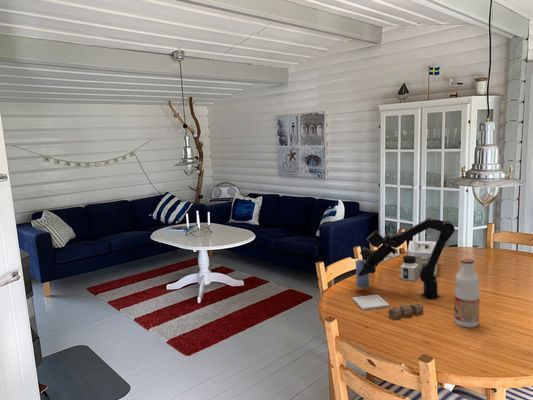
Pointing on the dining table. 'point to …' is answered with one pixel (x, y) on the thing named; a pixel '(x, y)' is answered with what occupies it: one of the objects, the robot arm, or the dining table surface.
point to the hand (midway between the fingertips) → (359, 273)
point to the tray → (370, 302)
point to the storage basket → (421, 252)
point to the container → (409, 268)
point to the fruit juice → (466, 295)
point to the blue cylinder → (364, 279)
